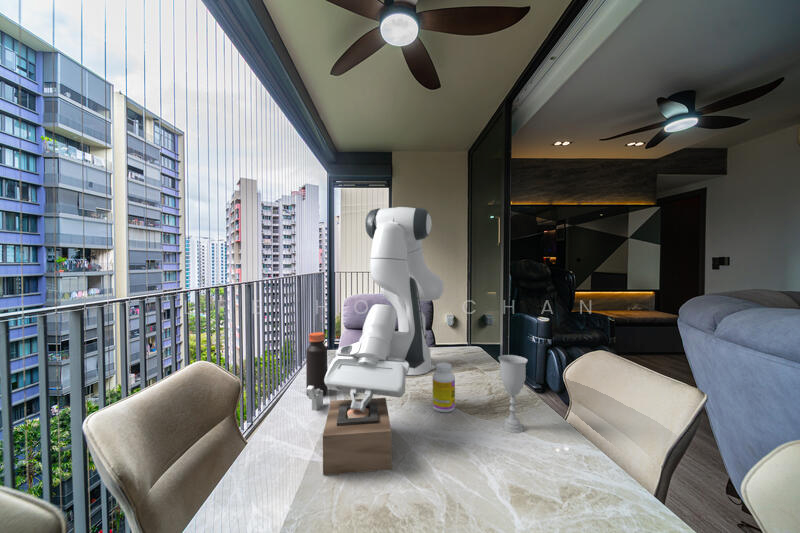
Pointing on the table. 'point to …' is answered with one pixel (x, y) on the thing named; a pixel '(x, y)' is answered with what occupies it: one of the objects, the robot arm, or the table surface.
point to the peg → (357, 414)
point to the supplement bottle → (443, 388)
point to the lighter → (315, 397)
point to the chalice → (512, 386)
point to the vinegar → (316, 362)
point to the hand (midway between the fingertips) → (356, 410)
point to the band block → (357, 438)
